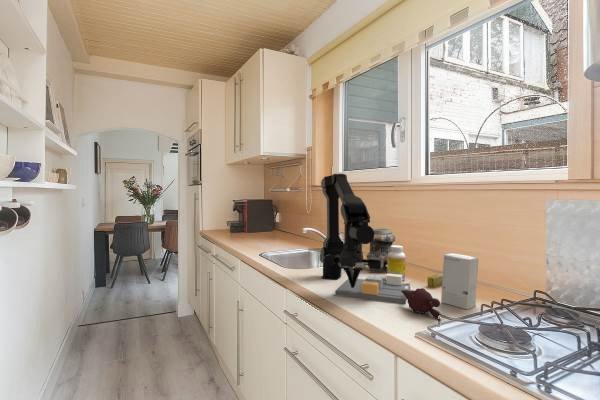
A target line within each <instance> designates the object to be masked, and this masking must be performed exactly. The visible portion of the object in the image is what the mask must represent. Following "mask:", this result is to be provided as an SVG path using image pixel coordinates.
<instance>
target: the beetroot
mask: <svg viewBox="0 0 600 400" xmlns="http://www.w3.org/2000/svg"><path fill="white" fill-rule="evenodd" d="M401 292H402V293H403V294H404V296H405V297H406V298H407V301H406V303H407V304H408V308H410V309H411V312H412V311H413V312H417V313H420V314H427V313H429V314H430V315H431V316H432V317H433V318H434V319H436V320H438V316H439V315H441V316H442V314H441V312H440V311H438V310H436V309H435V308H438V307H440V305H441V302H440V301H441V300H439V299H438V298H433V296H432V294H431V293H430V291H429V292H428V291H427V290H426V289H425V287H424V288H423V287H421V288H416V289H415V290H413V289H412V290H411V289H410V290H402V291H401Z"/></svg>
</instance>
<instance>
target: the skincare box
mask: <svg viewBox="0 0 600 400" xmlns="http://www.w3.org/2000/svg"><path fill="white" fill-rule="evenodd" d="M442 264H443V265H442V266H443V267H442V273H443V280H442V286H441V298H440V299H441V300H440V301H441V302H440V303H442V304H446V305H450V306H454V307H457V308H461V309H464V310H469V309H472V308H474V307H476V306H477V288H478V287H477V286H478V276H479V275H478V274H479V257H476V256H472V255H466V254H460V253H447V254H443V263H442Z"/></svg>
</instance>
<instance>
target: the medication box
mask: <svg viewBox="0 0 600 400" xmlns="http://www.w3.org/2000/svg"><path fill="white" fill-rule="evenodd" d="M442 280H443V272H441V273H437V274H434V275H430V276H427V288H431V289H438V288H441V287H442ZM440 286H441V287H440ZM437 287H438V288H437Z"/></svg>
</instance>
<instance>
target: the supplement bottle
mask: <svg viewBox="0 0 600 400" xmlns="http://www.w3.org/2000/svg"><path fill="white" fill-rule="evenodd" d="M390 249H391V252H389V253H388V264H387V267H388V273H387V274H399V275H402V282H403V281H405V280H406V254H405V253H404V252H403V250H404V246H403V245H398V244H397V245H393V244H392V246H390Z"/></svg>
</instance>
